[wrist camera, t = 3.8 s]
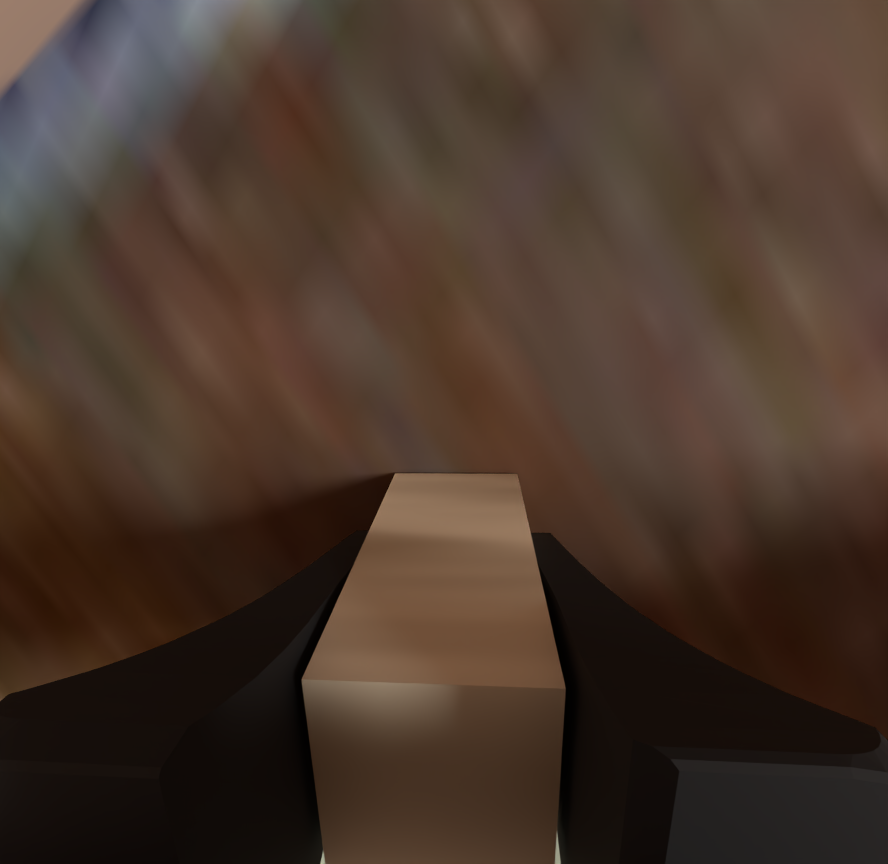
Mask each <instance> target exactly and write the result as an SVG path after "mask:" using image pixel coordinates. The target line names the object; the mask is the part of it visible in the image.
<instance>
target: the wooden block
mask: <svg viewBox="0 0 888 864" xmlns="http://www.w3.org/2000/svg"><path fill="white" fill-rule="evenodd" d="M302 687H303V695H304V703H305V711H306V719H307V726H308V734H309V742H310V750H311V758H312V765H313V773H314V781H315V789H316V796H317V804H318V812H319V820H320V828H321V835H322V843H323V851H324V859H325V864H555V854H556V838H557V821H558V805H559V789H560V773H561V757H562V741H563V725H564V709H565V692H566V688H565V683H564V679H563V674H562V670H561V666H560V661H559V657H558V652H557V648H556V643H555V639H554V635H553V630H552V626H551V621H550V617H549V612H548V608H547V603H546V599H545V595H544V590H543V586H542V581H541V577H540V572H539V568H538V564H537V559H536V555H535V550H534V546H533V541H532V537H531V533H530V528H529V524H528V519H527V515H526V510H525V506H524V502H523V497H522V493H521V488H520V484H519V479H518V475H517V474H448V473H395V475H394V477H393V479H392V481H391V483H390V486H389V488H388V490H387V492H386V494H385V497H384V499H383V501H382V503H381V505H380V508H379V510H378V512H377V514H376V516H375V519H374V521H373V523H372V525H371V527H370V530H369V532H368V534H367V536H366V538H365V541H364V543H363V545H362V547H361V550H360V552H359V554H358V556H357V558H356V561H355V563H354V565H353V567H352V569H351V572H350V574H349V576H348V578H347V580H346V583H345V585H344V587H343V589H342V591H341V594H340V596H339V598H338V600H337V602H336V605H335V607H334V609H333V611H332V613H331V616H330V618H329V620H328V622H327V624H326V627H325V629H324V631H323V633H322V635H321V638H320V640H319V642H318V644H317V646H316V649H315V651H314V653H313V655H312V657H311V660H310V662H309V664H308V666H307V668H306V671H305V673H304V675H303V677H302Z"/></svg>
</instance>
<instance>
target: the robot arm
mask: <svg viewBox="0 0 888 864" xmlns="http://www.w3.org/2000/svg"><path fill="white" fill-rule="evenodd" d="M368 532H369V531H356V532H354V533H353V534H351V535H350V536H348V537H347V538H345V539H344V540H343V541H341V542H340V543H339V544H337V545H336V546H335V547H334V548H332V549H331V550H330V551H328V552H327V553H326V554H324V555H323V556H321V557H320V558H319V559H317V560H316V561H315V562H313V563H312V564H311V565H309V566H308V567H307V568H305V569H304V570H302V571H301V572H299V573H298V574H296V575H295V576H293V577H292V578H290V579H289V580H287V581H286V582H284V583H283V584H281V585H280V586H278V587H277V588H275V589H274V590H272V591H271V592H269V593H267V594H266V595H264V596H262V597H261V598H259V599H257V600H255V601H254V602H252V603H250V604H248V605H247V606H245V607H243V608H241V609H239V610H237V611H235V612H234V613H232V614H230V615H228V616H226V617H224V618H222V619H220V620H218V621H216V622H214V623H211V624H209V625H207V626H205V627H202V628H200V629H198V630H196V631H194V632H191V633H189V634H187V635H185V636H183V637H180V638H178V639H176V640H174V641H171V642H169V643H166V644H164V645H161V646H159V647H156V648H154V649H151V650H148V651H146V652H143V653H141V654H138V655H135V656H132V657H129V658H127V659H124V660H121V661H118V662H115V663H113V664H110V665H107V666H104V667H101V668H98V669H94V670H91V671H88V672H85V673H81V674H78V675H75V676H71V677H68V678H64V679H61V680H58V681H54V682H51V683H47V684H44V685H40V686H37V687H34V688H30V689H27V690H23V691H19V692H15V693H11V694H9V695H7V696H6V697H5V698H4V699H3V700H1V701H0V864H320V863H321V859H322V854H323V843H322V835H321V828H320V820H319V812H318V804H317V796H316V789H315V781H314V773H313V765H312V758H311V750H310V742H309V734H308V726H307V719H306V711H305V703H304V695H303V687H302V677H303V675H304V673H305V671H306V668H307V666H308V664H309V662H310V660H311V657H312V655H313V653H314V651H315V649H316V646H317V644H318V642H319V640H320V638H321V635H322V633H323V631H324V629H325V627H326V624H327V622H328V620H329V618H330V616H331V613H332V611H333V609H334V607H335V605H336V602H337V600H338V598H339V596H340V594H341V591H342V589H343V587H344V585H345V583H346V580H347V578H348V576H349V574H350V572H351V569H352V567H353V565H354V563H355V561H356V558H357V556H358V554H359V552H360V550H361V547H362V545H363V543H364V541H365V538H366V536H367V534H368ZM531 537H532V541H533V546H534V550H535V555H536V559H537V564H538V568H539V572H540V577H541V581H542V586H543V590H544V595H545V599H546V603H547V608H548V612H549V617H550V621H551V626H552V630H553V635H554V639H555V643H556V648H557V652H558V657H559V661H560V666H561V670H562V674H563V679H564V683H565V688H566V692H565V709H564V725H563V741H562V757H561V773H560V789H559V805H558V821H557V835H558V844H559V853H560V861H561V864H888V740H887V739H886V738H885V737H884V736H883V735H882V734H881V733H880V732H879V731H878V730H877V729H876V728H875V727H872V726H870V725H867V724H865V723H862V722H859V721H857V720H854V719H852V718H849V717H847V716H844V715H841V714H839V713H836V712H834V711H831V710H829V709H826V708H823V707H821V706H818V705H816V704H813V703H811V702H808V701H805V700H803V699H800V698H798V697H795V696H793V695H790V694H788V693H786V692H783V691H781V690H779V689H777V688H775V687H772V686H770V685H768V684H766V683H764V682H761V681H759V680H757V679H755V678H753V677H751V676H748V675H746V674H744V673H742V672H740V671H738V670H736V669H734V668H732V667H730V666H728V665H726V664H724V663H722V662H720V661H718V660H716V659H714V658H713V657H711V656H709V655H707V654H705V653H704V652H702V651H700V650H698V649H696V648H695V647H693V646H691V645H689V644H687V643H686V642H684V641H682V640H681V639H679V638H677V637H676V636H674V635H672V634H671V633H669V632H667V631H666V630H664V629H663V628H661V627H660V626H658V625H657V624H655V623H654V622H652V621H651V620H649V619H648V618H647V617H645V616H644V615H642V614H641V613H639V612H638V611H636V610H635V609H634V608H632V607H631V606H630V605H628V604H627V603H626V602H624V601H623V600H622V599H621V598H619V597H618V596H617V595H616V594H614V593H613V592H612V591H611V590H609V589H608V588H607V587H606V586H605V585H603V584H602V583H601V582H600V581H599V580H598V579H597V578H595V577H594V576H593V575H592V574H591V573H590V572H589V571H588V570H587V569H586V568H585V567H583V566H582V565H581V564H580V563H579V562H578V561H577V560H576V559H575V558H574V557H573V556H572V555H571V554H570V553H569V552H568V551H567V550H566V549H565V548H564V547H563V546H562V545H561V544H560V543H559V542H558V540H557V539H556V538H555V537H554V536H553V535H552V534H551V533H531Z"/></svg>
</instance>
